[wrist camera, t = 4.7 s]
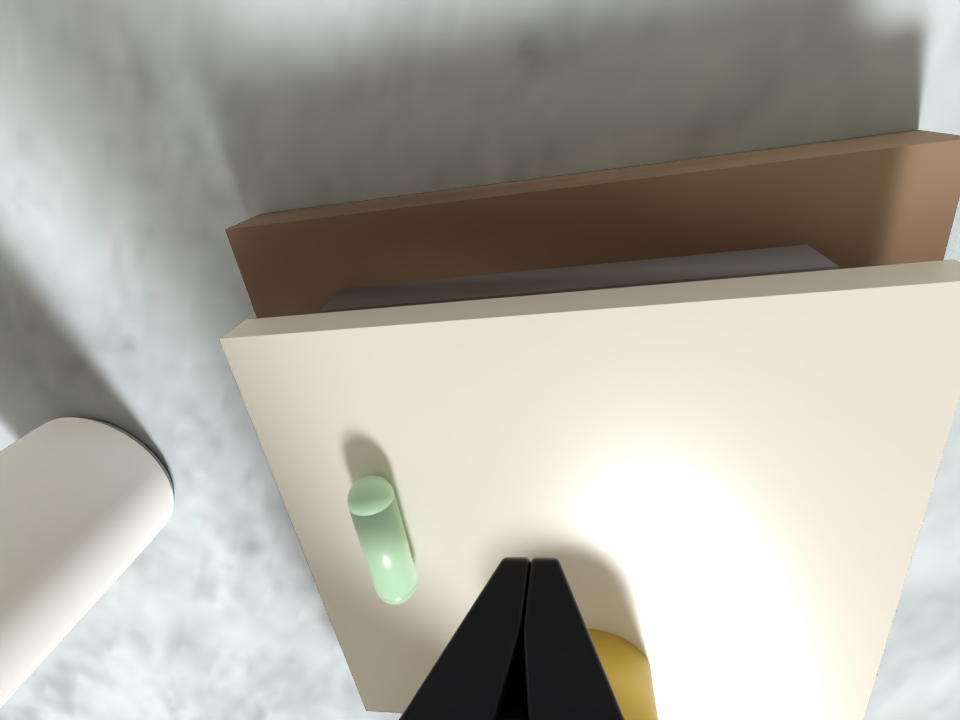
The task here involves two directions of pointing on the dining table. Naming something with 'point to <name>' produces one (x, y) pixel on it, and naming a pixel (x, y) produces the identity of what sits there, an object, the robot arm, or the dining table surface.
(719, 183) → the walnut base
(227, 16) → the dining table surface
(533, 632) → the robot arm
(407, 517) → the plate
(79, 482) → the can
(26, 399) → the dining table surface
